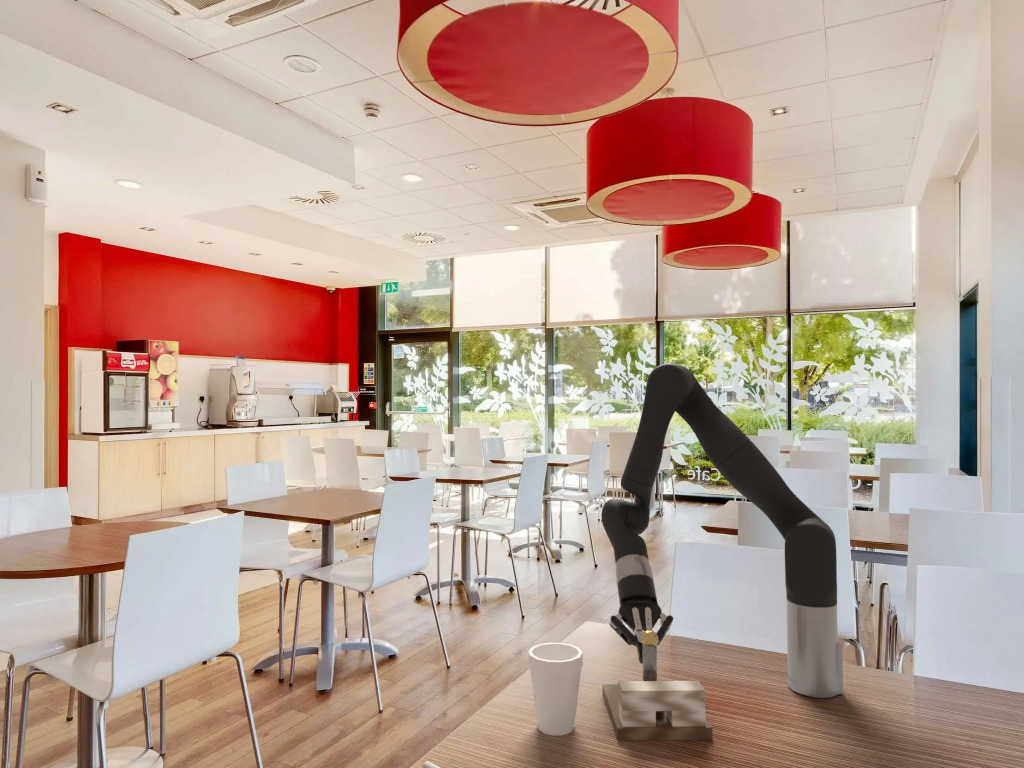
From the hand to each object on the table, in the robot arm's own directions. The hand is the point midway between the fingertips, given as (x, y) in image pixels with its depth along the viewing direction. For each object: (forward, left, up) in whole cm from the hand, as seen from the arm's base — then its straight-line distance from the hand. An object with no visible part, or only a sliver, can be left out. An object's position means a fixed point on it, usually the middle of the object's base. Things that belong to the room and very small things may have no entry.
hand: (647, 664), depth 128 cm
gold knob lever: (0, +4, -5) cm, 7 cm away
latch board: (0, +5, -7) cm, 9 cm away
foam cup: (+18, +9, -8) cm, 21 cm away
